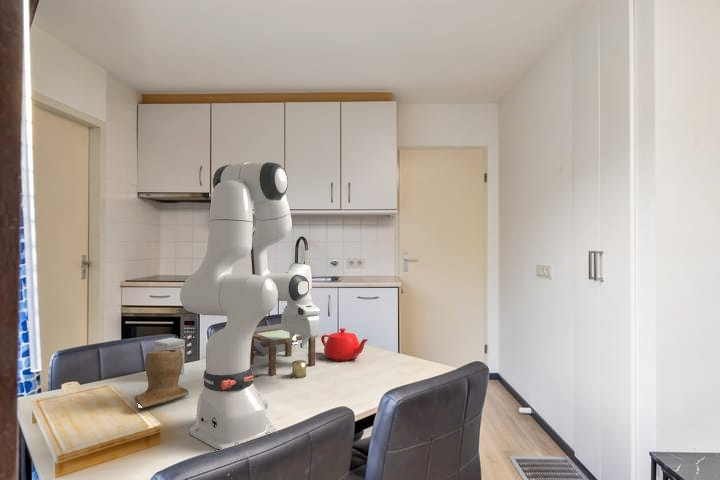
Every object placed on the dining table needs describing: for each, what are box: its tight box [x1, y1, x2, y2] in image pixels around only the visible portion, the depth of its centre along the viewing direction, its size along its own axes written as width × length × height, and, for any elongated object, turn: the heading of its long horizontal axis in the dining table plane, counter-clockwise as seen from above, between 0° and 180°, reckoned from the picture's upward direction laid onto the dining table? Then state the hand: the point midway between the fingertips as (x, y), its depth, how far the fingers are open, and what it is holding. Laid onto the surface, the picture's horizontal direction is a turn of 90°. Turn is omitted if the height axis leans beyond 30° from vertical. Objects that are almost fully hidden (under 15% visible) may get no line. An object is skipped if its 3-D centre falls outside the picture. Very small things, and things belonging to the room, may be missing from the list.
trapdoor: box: [257, 330, 301, 340], centre depth 152 cm, size 14×14×1 cm
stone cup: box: [134, 349, 190, 409], centre depth 115 cm, size 15×12×15 cm
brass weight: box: [291, 359, 307, 379], centre depth 138 cm, size 5×5×5 cm
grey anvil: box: [254, 323, 285, 356], centre depth 172 cm, size 25×8×11 cm, turn 135°
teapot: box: [320, 327, 369, 362], centre depth 162 cm, size 25×16×12 cm, turn 54°
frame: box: [250, 328, 316, 377], centre depth 152 cm, size 19×19×12 cm
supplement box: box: [153, 337, 186, 376], centre depth 138 cm, size 7×7×13 cm
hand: (298, 346), depth 138 cm, fingers open, 5 cm apart
